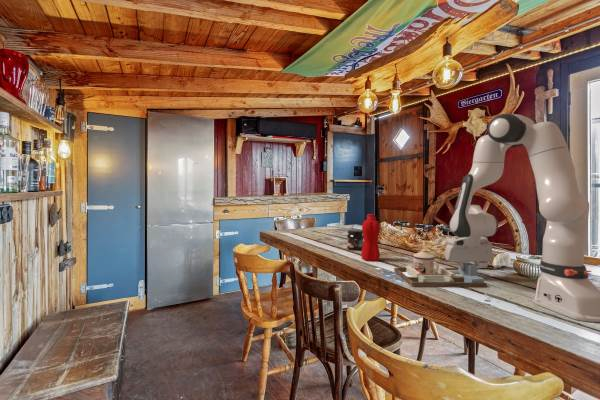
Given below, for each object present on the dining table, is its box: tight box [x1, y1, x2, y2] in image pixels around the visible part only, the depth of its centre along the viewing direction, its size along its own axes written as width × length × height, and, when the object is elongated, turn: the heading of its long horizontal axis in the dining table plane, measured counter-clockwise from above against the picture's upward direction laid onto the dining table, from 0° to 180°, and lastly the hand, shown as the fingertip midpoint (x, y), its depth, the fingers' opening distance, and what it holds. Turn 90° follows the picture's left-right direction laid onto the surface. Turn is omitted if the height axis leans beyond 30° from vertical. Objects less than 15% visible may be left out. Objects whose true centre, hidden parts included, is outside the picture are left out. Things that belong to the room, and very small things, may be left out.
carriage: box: [405, 262, 478, 277], centre depth 142 cm, size 14×27×6 cm, turn 90°
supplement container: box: [346, 229, 364, 252], centre depth 203 cm, size 10×10×12 cm
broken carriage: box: [418, 275, 485, 282], centre depth 131 cm, size 6×25×3 cm, turn 90°
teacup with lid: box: [412, 249, 440, 275], centre depth 142 cm, size 12×9×12 cm
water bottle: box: [360, 213, 383, 262], centre depth 173 cm, size 9×11×25 cm
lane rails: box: [393, 267, 488, 288], centre depth 139 cm, size 24×30×2 cm
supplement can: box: [470, 236, 489, 269], centre depth 159 cm, size 8×8×15 cm
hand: (468, 271), depth 142 cm, fingers open, 4 cm apart
